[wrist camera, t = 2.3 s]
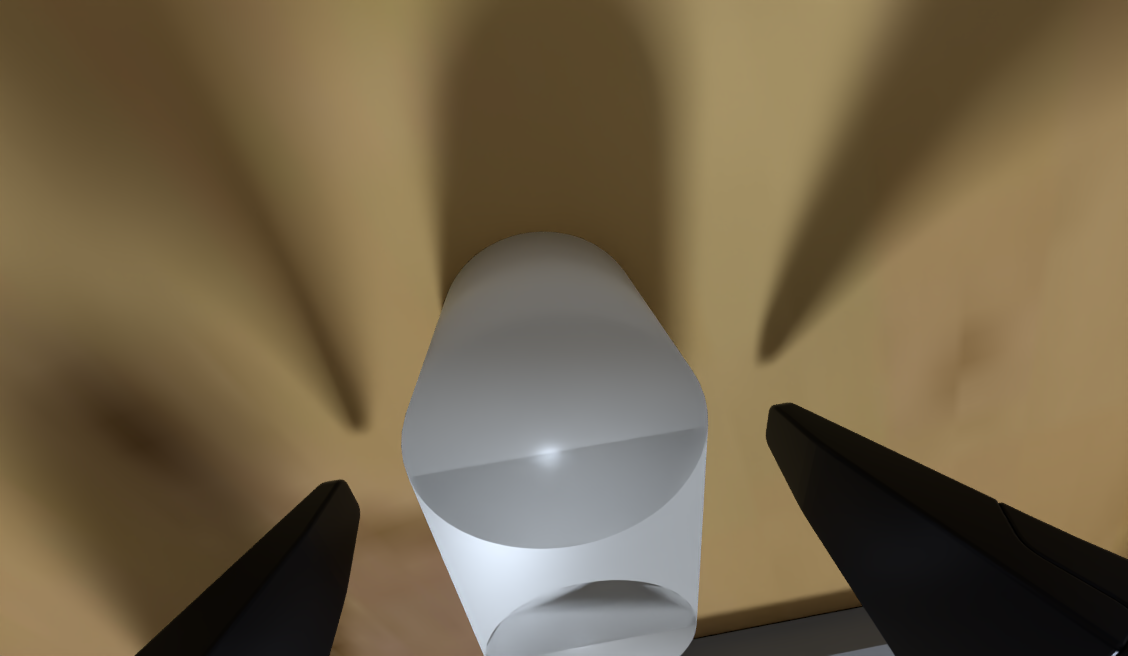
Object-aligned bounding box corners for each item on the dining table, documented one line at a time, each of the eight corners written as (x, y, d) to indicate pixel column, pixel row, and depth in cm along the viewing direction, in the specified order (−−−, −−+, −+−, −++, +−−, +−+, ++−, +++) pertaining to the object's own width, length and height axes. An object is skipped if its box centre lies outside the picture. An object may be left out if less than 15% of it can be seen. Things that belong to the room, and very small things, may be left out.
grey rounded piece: (634, 216, 8) (716, 288, 5) (649, 578, 13) (691, 722, 10) (417, 248, 8) (353, 346, 4) (523, 601, 13) (526, 754, 10)
